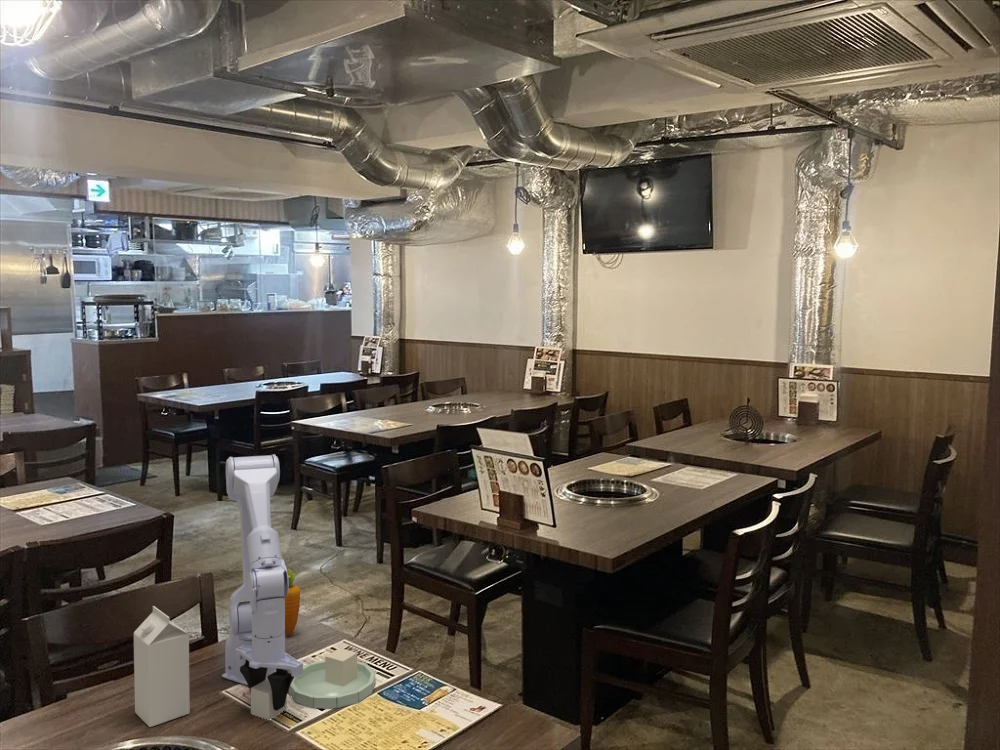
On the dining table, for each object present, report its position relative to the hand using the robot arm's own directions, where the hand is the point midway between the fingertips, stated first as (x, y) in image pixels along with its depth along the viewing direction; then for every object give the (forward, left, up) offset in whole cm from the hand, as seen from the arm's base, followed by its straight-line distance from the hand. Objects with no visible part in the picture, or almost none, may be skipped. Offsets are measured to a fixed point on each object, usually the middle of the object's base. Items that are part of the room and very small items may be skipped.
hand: (268, 704), depth 143 cm
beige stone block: (+4, +16, -1) cm, 16 cm away
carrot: (-20, +27, -2) cm, 34 cm away
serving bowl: (+4, +13, -1) cm, 14 cm away
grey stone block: (0, 0, -2) cm, 2 cm away
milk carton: (-16, -10, -2) cm, 19 cm away
